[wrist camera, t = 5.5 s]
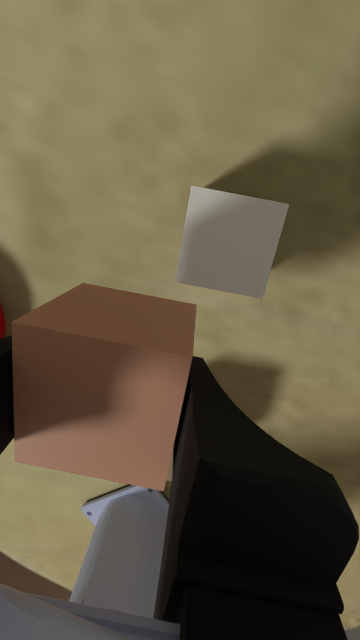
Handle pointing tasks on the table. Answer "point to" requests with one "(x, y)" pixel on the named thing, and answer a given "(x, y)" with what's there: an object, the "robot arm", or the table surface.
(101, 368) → the terracotta cube
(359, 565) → the table surface
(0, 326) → the decorative ornament
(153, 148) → the table surface
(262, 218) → the cream cube
